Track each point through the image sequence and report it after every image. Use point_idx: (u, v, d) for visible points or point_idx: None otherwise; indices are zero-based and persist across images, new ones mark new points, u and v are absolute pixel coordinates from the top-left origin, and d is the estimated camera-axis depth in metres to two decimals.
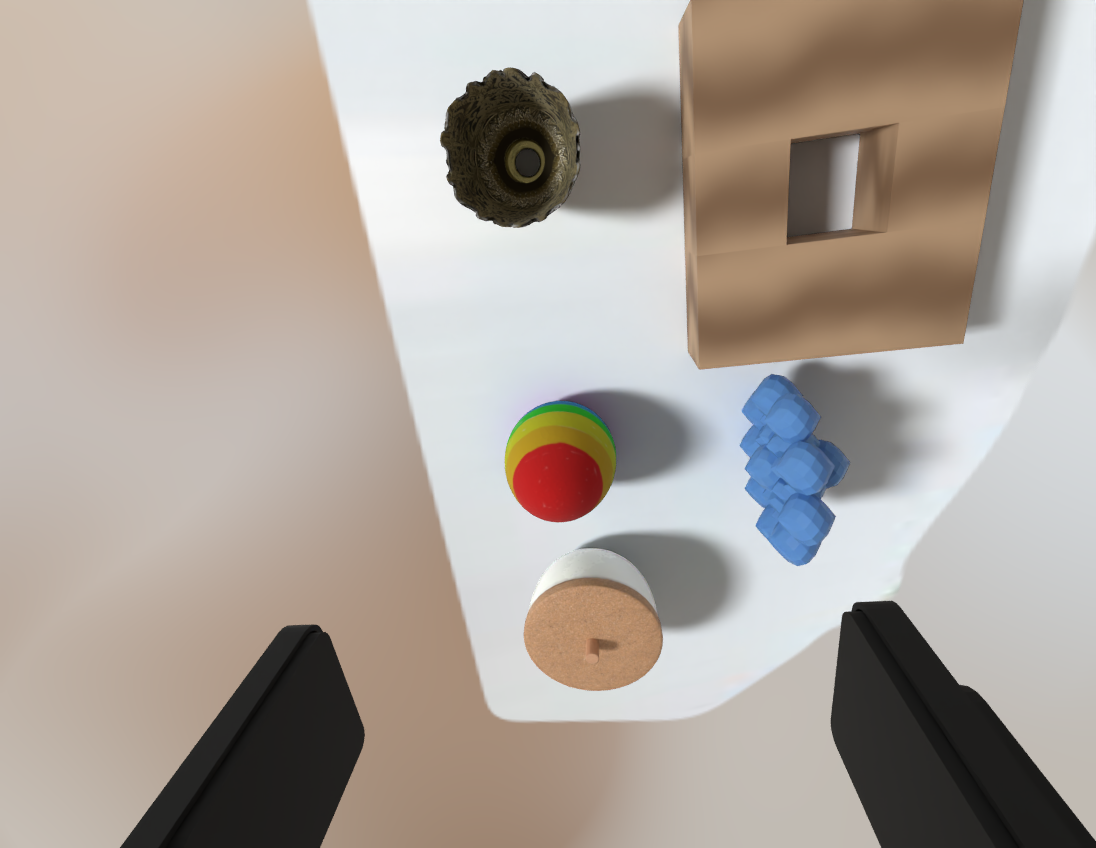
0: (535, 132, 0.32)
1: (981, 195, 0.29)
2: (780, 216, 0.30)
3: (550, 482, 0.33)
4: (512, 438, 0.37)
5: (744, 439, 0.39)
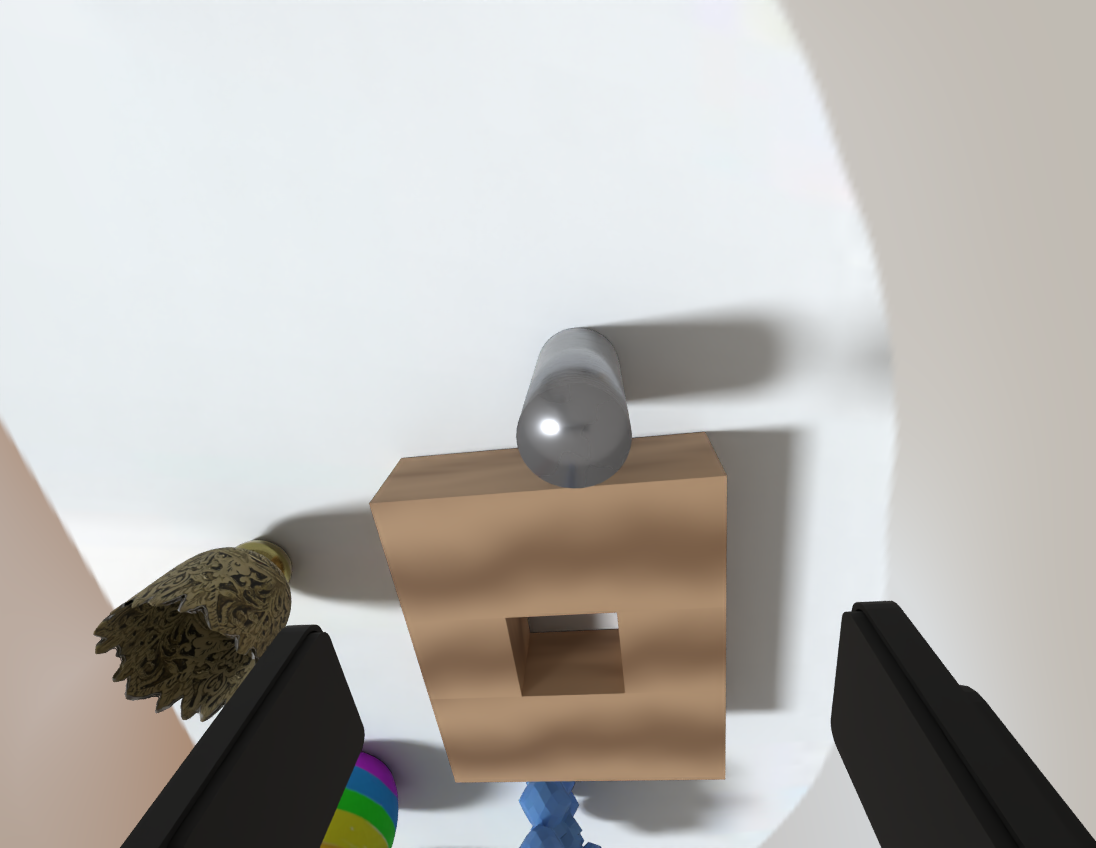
0: None
1: (717, 671, 0.27)
2: (509, 675, 0.28)
3: None
4: None
5: None
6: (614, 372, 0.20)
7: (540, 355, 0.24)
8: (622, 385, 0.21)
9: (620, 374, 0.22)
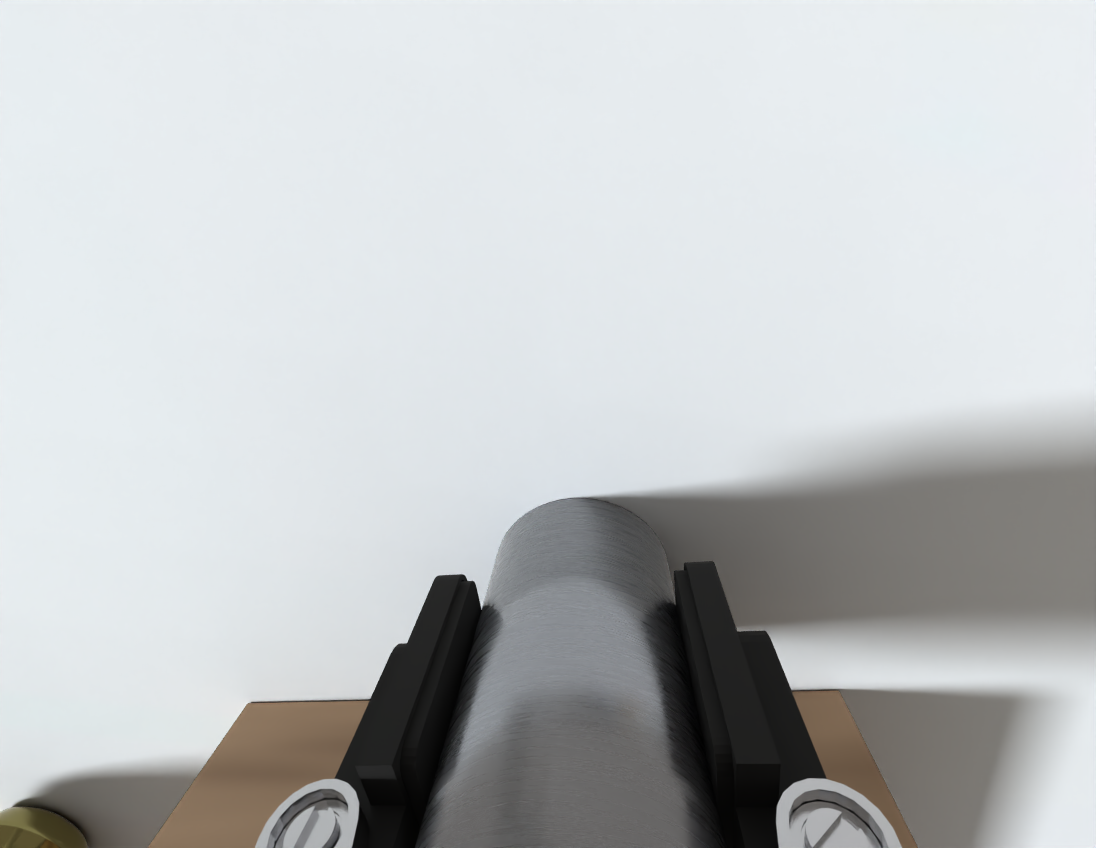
0: None
1: None
2: None
3: None
4: None
5: None
6: (682, 713, 0.07)
7: (496, 574, 0.10)
8: (702, 741, 0.07)
9: (686, 662, 0.09)
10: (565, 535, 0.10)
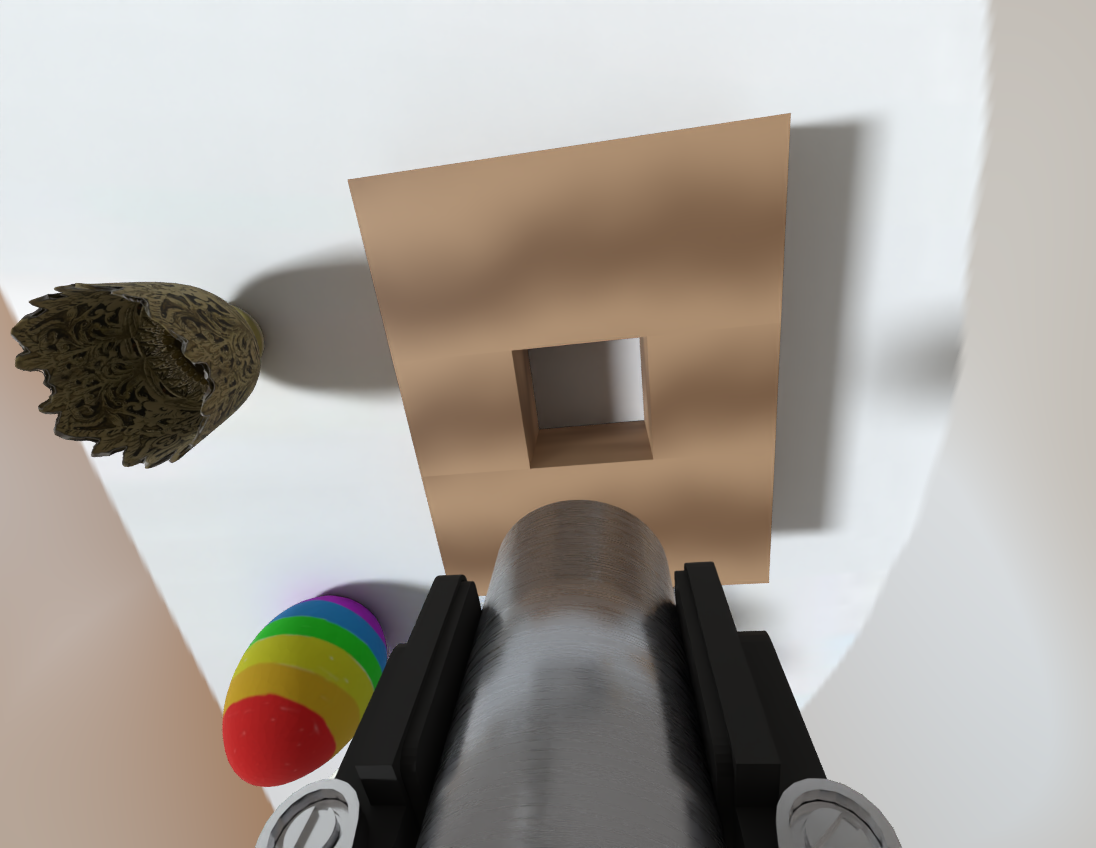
0: None
1: (765, 423, 0.22)
2: (516, 437, 0.23)
3: (245, 754, 0.26)
4: (238, 664, 0.30)
5: None
6: (682, 715, 0.07)
7: (496, 576, 0.10)
8: (703, 743, 0.07)
9: (687, 664, 0.09)
10: (565, 537, 0.10)
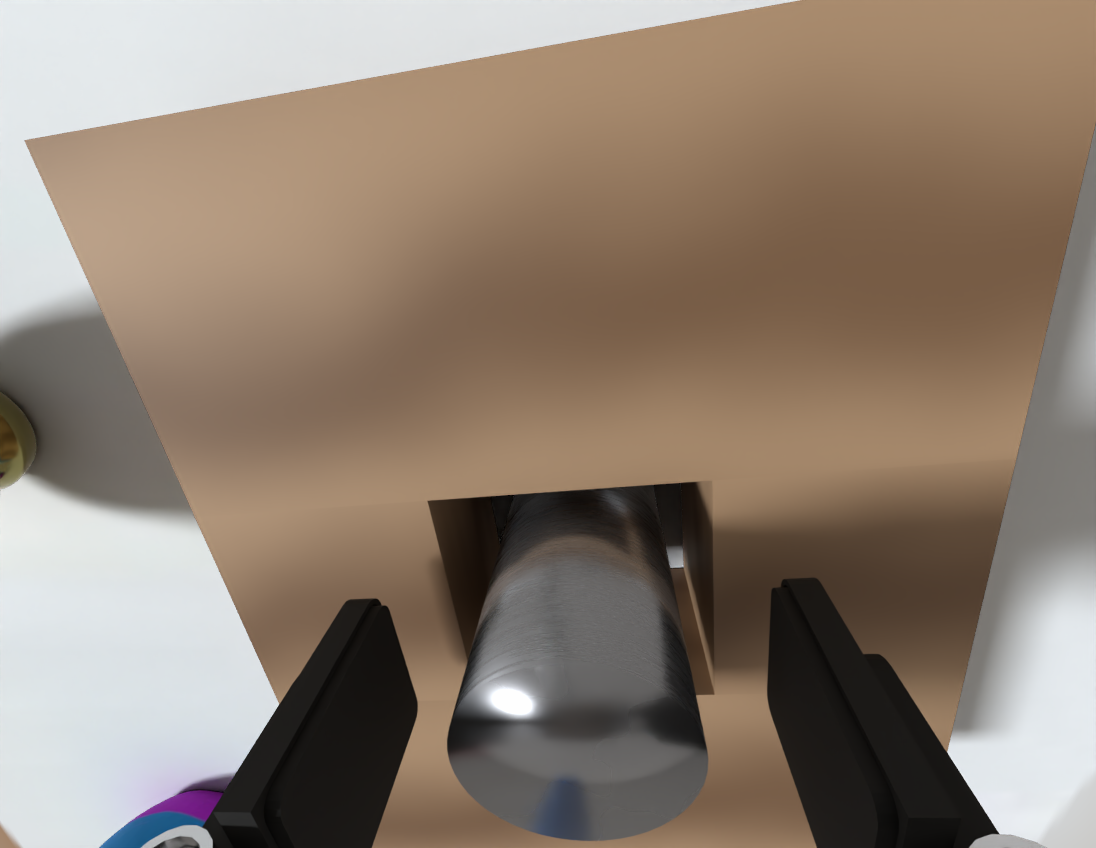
0: None
1: (950, 643, 0.11)
2: (447, 649, 0.12)
3: None
4: None
5: None
6: (656, 557, 0.10)
7: None
8: (671, 579, 0.11)
9: (663, 538, 0.12)
10: None
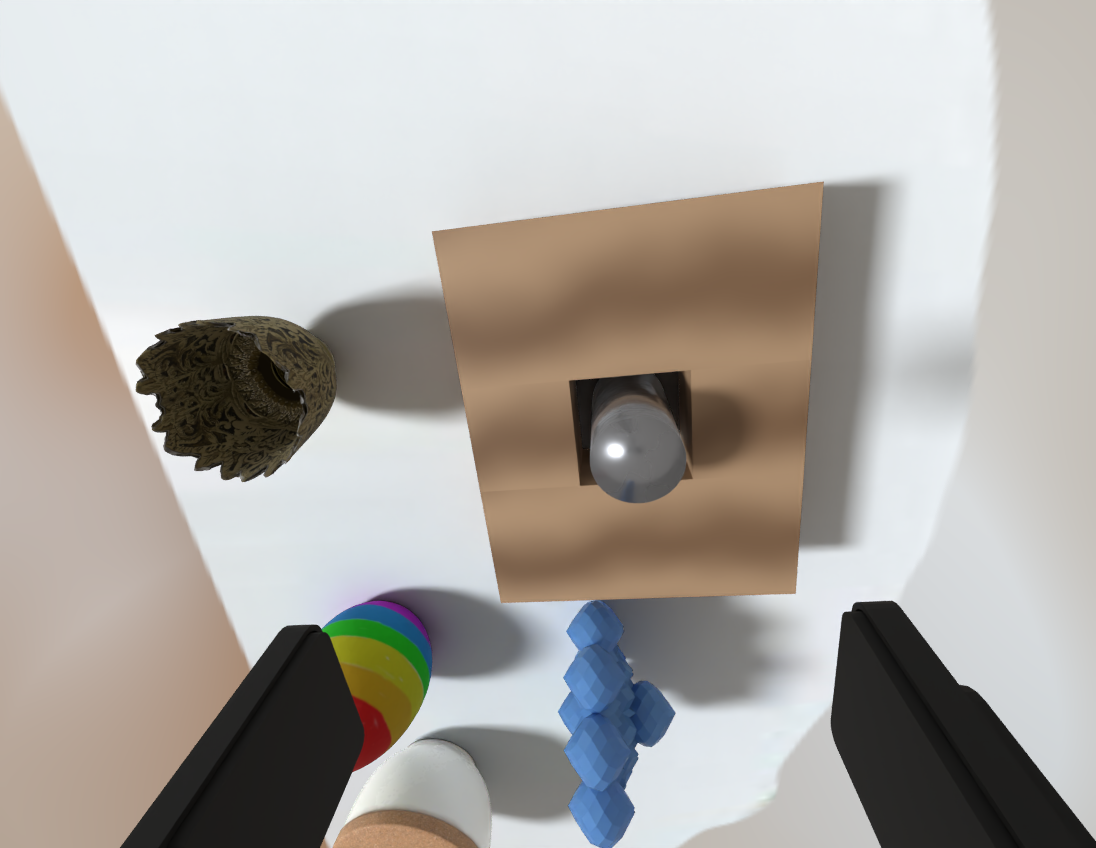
0: None
1: (796, 448, 0.25)
2: (568, 457, 0.26)
3: None
4: None
5: (578, 653, 0.34)
6: (667, 406, 0.24)
7: (598, 388, 0.28)
8: None
9: None
10: None
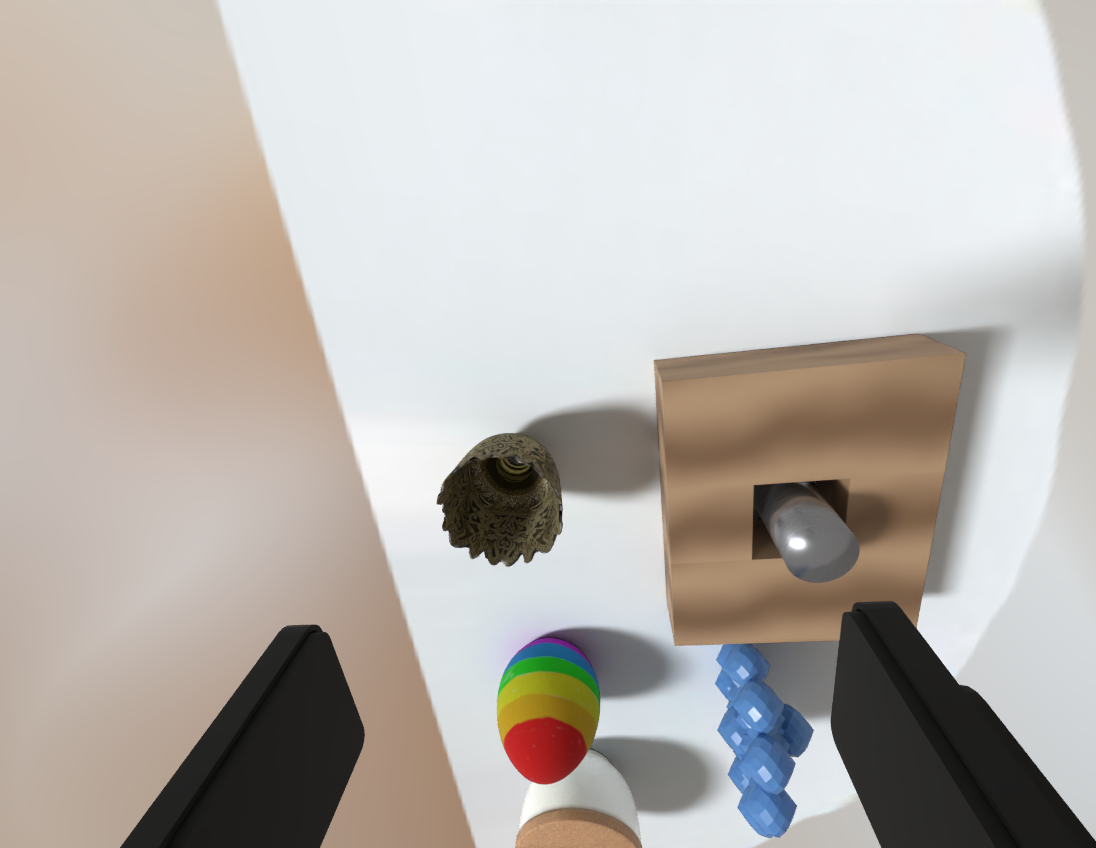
0: None
1: (926, 533, 0.32)
2: (746, 539, 0.33)
3: (537, 761, 0.36)
4: (503, 693, 0.40)
5: (719, 679, 0.42)
6: None
7: None
8: None
9: None
10: None
